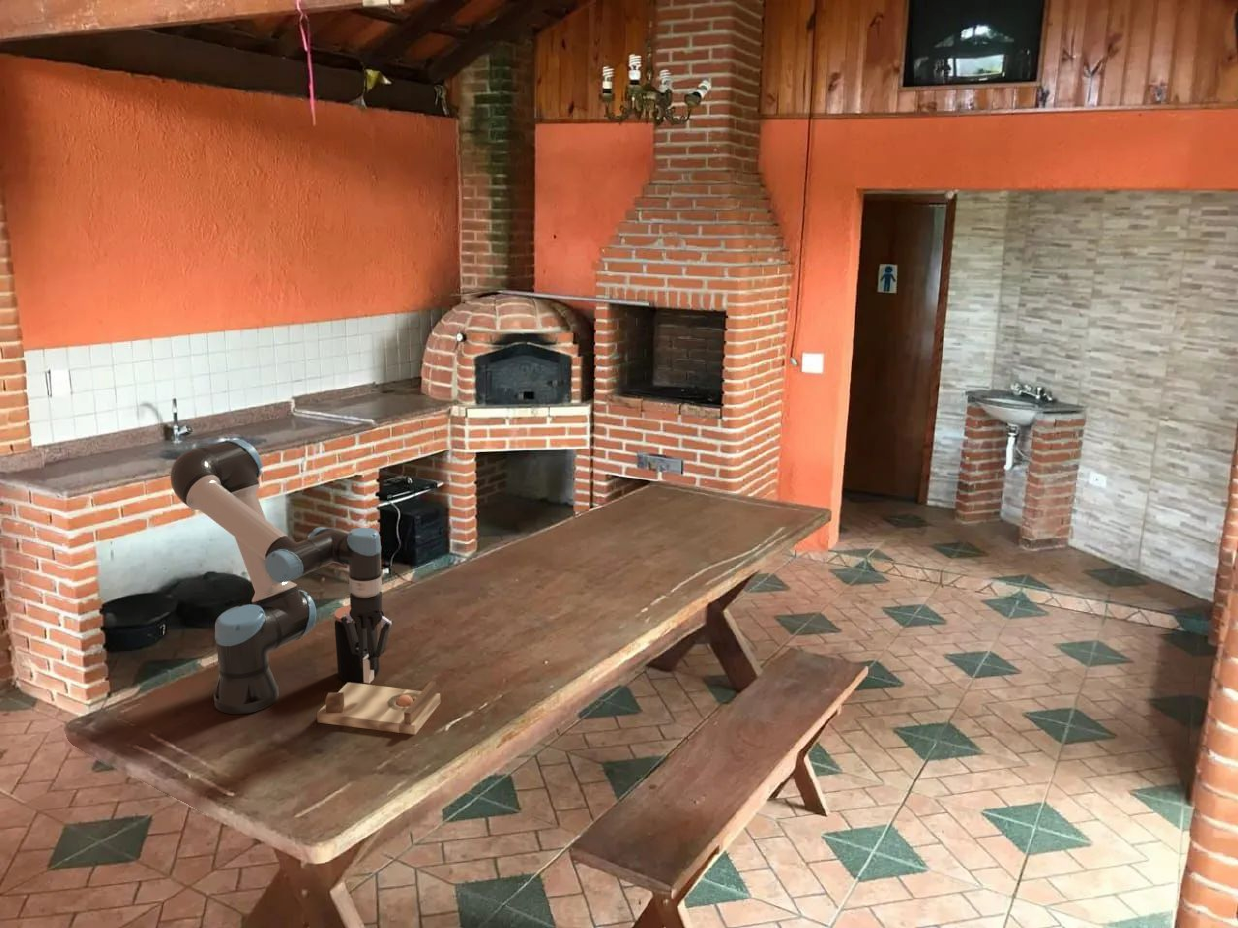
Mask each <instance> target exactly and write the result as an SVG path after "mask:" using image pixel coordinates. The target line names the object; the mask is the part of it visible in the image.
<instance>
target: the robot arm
mask: <svg viewBox="0 0 1238 928" xmlns="http://www.w3.org/2000/svg"><path fill="white" fill-rule="evenodd" d="M262 469H263V461H262V459H261V455H260V453H258V451H257V449H256V448H255V447H254V446H253V445H252V444H251V443H248V442H247V441H245V440H243V439H231V440H224V441H220V442H217V443H213V444H209V445H205V446H202V447H198V448H193V449H192V448H191V449H190V450H187V451H185V452H183V453H181V455H179V456H178V457H177V458H176V460H175V461H174V462H173V464H172V467H171V470H170V478H169V479H170V483H171V487H172V489H173V491H174V492H173V493H174V494H175V495H176V497H177V499H179V500H180V501H181V502H182V503H183V504H184V505H185V506H187V507H188V508H189V509H191V510H193V511H198V510H199V511H201V513H203V514H205V515H206V517H208V518H209V519H211V520H212V521H214V522H215V523H216V524H217V525H219V526H220V527H221V528H222V529H224V530H225V531H226V532H228V533H229V534H230V535H232V536H233V537H234V539H235V542H236V544H237V547H238V550H239V552H240V555H241V558H242V560H243V561H242V562H243V563H244V566H245V568H246V571H247V573H248V576H249V579H250V582H251V585H252V587H253V590H254V595H253V597H252V599H251V604H250V603H249V604H242V605H241V606H240V605H237V606H234V607H233V606H232V607H231V608H229V609H227V610H225V611H224V612H222V613H221V614H219V616H217V618H216V620H215V622H214V623H215V624H214V630H215V631H214V641H215V645H216V652H217V654H216V655H217V664H218V665H217V666H218V673H219V674H218V679H217V683H216V686H215V691H214V694H213V700H214V707H215V709H216V710H217V711H219V712H220V713H224V714H229V715H245V714H252V713H255V712H259V711H262V710H264V709H267V708H269V707H270V706H272V705H273V704H275V703H276V701H277V700H278V698H279V696H280V693H279V687H278V683H277V682H276V681H275V680H276V679H275V678H274V675H273V673H272V671H271V668H270V666H269V653H270V652H272V651H275V650H277V649H280V648H281V647H283V646H285V645H287V644H289V643H291V642H294V641H296V640H300V639H301V638H302V637H304V636H305V635H307V634H309V633H310V632H311V631H312V629H313V628H314V626H315V623H316V621H317V608H316V604H315V601H314V600H313V598H312V597H311V596H310V595H308V594H309V593H308V592H306V591H304V590H303V589H302V590H301V589H299V587H298V584H297V583H295V582H293V580H297V579H298V578H300V577H302V576H305V575H307V574H308V573H311V572H313V571H316V570H319V569H321V568H323V567H327V566H328V565H330V564H334V563H335V564H340V565H343V566H348V577H349V578H348V581H349V592H350V593H349V605H350V607H351V610H350V612H349V614H345V615H344V616H343V617H342V618H341V622H342V623H343V625H344V626H345V629H346V633H347V637H348V640H349V644H350V648H351V651H352V654H357V655H358V656H359V657H360V668H361V669H363V676H364V682H363V684H371V682H372V681H374V679H375V677H374V670H375V669H376V667H377V658H379V659H380V657H381V656H382V655H383V654H384V653H385V650H386V646H387V640H388V637H389V632H390V629H391V627H392V625H393V624H394V620H393V618H392V619H391V618H390V619H388V618H386V617H385V613H384V610H383V591H382V590H383V582H382V580H383V579H382V545H381V544H382V543H381V536H380V533H379V531H378V530H376V529H374V528H371V527H357V528H353V529H351V530H349V532H344V531H341V530H337V529H335V528H330V527H323V526H322V527H316V528H314V529H313V531H311V532H310V533H309V535H308V536H307V539H304V540H301V541H299V542H296V540H294V539H293V538H291V537H289V536H288V535H287V534H285V532H284V531H281V530H280V529H279V528H277V527H276V526H275V525H274V524H272V523H271V522H270V521H268V520H267V519H266V516H265V513H264V510H263V508H262V505H261V502H260V499H259V496H258V494H257V493H258V490H259V487H260V481H259V478H260V477H261V475H262V474H263V470H262ZM353 621H354V622H355V623H356V625H357V632H358V636H357V632H356V629H355V625H354V622H353ZM380 623H381V624H380ZM379 624H380V628H381V629H380V632H379V636H378V645H377V633H378V626H379ZM367 633H368V648H367ZM367 653H368V654H367Z"/></svg>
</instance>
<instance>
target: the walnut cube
mask: <svg viewBox="0 0 1238 928" xmlns="http://www.w3.org/2000/svg"><path fill="white" fill-rule="evenodd" d="M324 700H325V701H324V702H325V704H324V705H326V713H342V710H343V708H344V692H339V691H338V692H328V693H327V695H326V697H325V699H324Z"/></svg>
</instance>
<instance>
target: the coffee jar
mask: <svg viewBox="0 0 1238 928" xmlns="http://www.w3.org/2000/svg"><path fill="white" fill-rule="evenodd" d="M350 610H351V607H350V604H347V605H343V606H342V607H338V608H337V609H336V610H335V611H334V613H333V615H334V619H335V620H334V632H335V634H334V635H335V648H336V649H335V650H336V652H335V653H336V664H337V665H336V666H337V674H338V677H340V679H341V680H342V681H344V682H346V683H348V682H349V683H357V684H362V683H364V676H363V669H361V668H360V657H359V656H358V655H357V654H352V651H351V648H350V644H349V640H348V637H347V633H346V629H345V626H344V625H343V623H342V622H341V618H342V617H343V616H344V615H345V614H349V612H350ZM353 622H354V621H353ZM354 625H355V629H356V632H357V625H356V623H355V622H354ZM357 636H358V632H357ZM378 641H379V636H378V632H377V645H378ZM367 648H368V633H367ZM367 654H368V653H367ZM379 671H380V657H379V658H377V667H376V669H375V670H374V678H375V677H377V675H378V673H379Z"/></svg>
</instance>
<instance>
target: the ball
mask: <svg viewBox="0 0 1238 928" xmlns="http://www.w3.org/2000/svg"><path fill="white" fill-rule="evenodd" d="M412 703H413V699H412V697H411V696H409V695H402V696H400V697H399V698H398V700H397V705H398V706H400V707H408V706H410V705H411V704H412Z"/></svg>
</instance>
